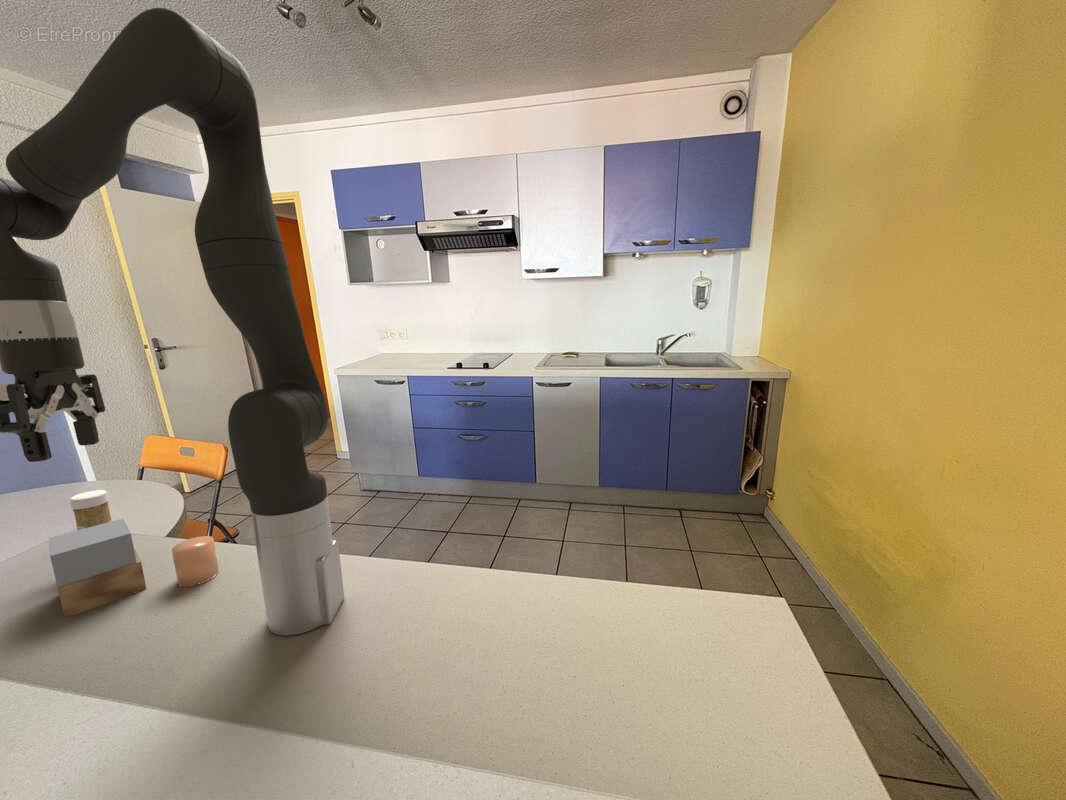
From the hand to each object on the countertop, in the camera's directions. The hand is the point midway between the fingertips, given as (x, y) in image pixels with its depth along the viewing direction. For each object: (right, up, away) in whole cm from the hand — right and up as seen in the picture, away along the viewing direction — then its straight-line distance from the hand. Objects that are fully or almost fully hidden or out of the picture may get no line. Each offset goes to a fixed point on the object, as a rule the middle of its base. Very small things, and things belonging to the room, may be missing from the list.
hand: (66, 451), depth 60 cm
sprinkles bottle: (-11, -22, +16) cm, 30 cm away
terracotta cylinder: (+10, -23, +12) cm, 27 cm away
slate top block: (-3, -19, +7) cm, 20 cm away
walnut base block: (-3, -24, +8) cm, 25 cm away
